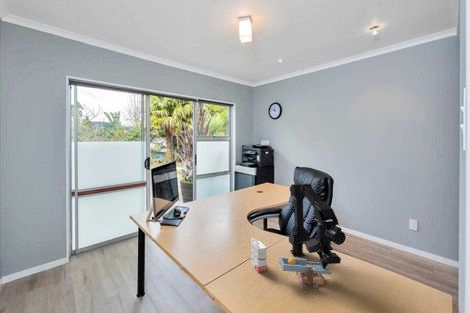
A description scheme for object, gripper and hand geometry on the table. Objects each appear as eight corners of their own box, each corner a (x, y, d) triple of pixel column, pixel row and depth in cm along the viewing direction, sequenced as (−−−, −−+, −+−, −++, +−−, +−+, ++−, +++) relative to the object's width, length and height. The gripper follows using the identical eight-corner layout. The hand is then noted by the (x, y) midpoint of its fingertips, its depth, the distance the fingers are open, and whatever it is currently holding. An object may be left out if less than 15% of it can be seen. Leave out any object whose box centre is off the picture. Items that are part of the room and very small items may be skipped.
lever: (324, 265, 106) (324, 260, 105) (331, 274, 98) (332, 269, 98) (278, 262, 104) (279, 256, 104) (283, 271, 97) (283, 265, 97)
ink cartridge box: (267, 270, 110) (267, 241, 108) (258, 273, 108) (258, 243, 107) (259, 261, 118) (259, 234, 116) (250, 263, 116) (250, 236, 115)
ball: (285, 259, 102) (291, 254, 102) (290, 265, 103) (295, 260, 103) (287, 263, 99) (293, 258, 99) (292, 269, 99) (298, 264, 99)
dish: (317, 275, 106) (317, 269, 105) (324, 284, 98) (324, 278, 98) (297, 275, 105) (297, 270, 105) (302, 285, 98) (302, 279, 98)
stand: (308, 272, 108) (308, 257, 107) (318, 288, 96) (318, 271, 96) (295, 273, 107) (296, 257, 107) (304, 289, 96) (304, 271, 95)
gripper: (299, 227, 110) (299, 258, 111) (315, 245, 91) (314, 281, 92) (321, 226, 110) (321, 257, 111) (341, 244, 92) (341, 280, 93)
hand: (323, 268), depth 102 cm, fingers closed, pressing on lever
